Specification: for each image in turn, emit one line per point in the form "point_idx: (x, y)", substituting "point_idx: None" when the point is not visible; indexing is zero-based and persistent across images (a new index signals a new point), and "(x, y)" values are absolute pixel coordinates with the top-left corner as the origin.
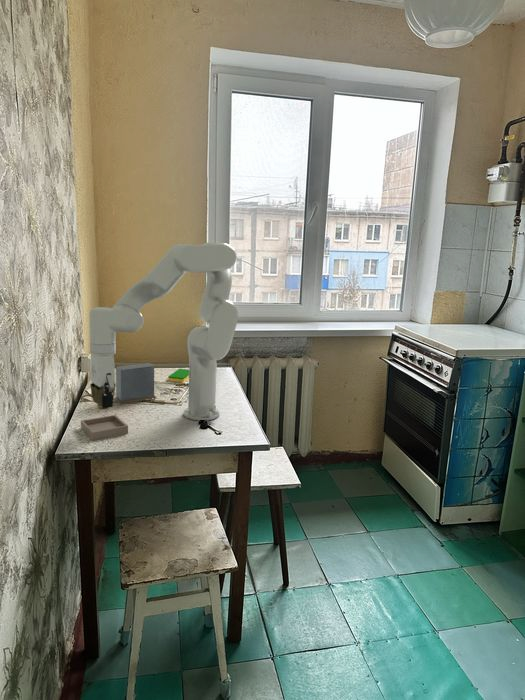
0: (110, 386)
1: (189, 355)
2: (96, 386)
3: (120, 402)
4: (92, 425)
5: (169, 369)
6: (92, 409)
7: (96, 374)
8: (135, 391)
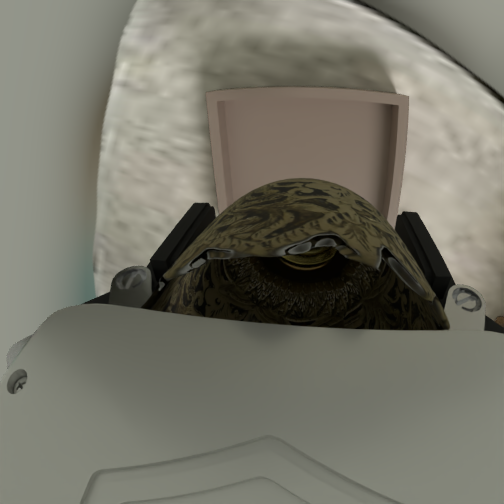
0: (8, 355)
1: None
2: (426, 314)
3: (500, 322)
4: (367, 138)
5: None
6: None
7: (49, 496)
8: None
